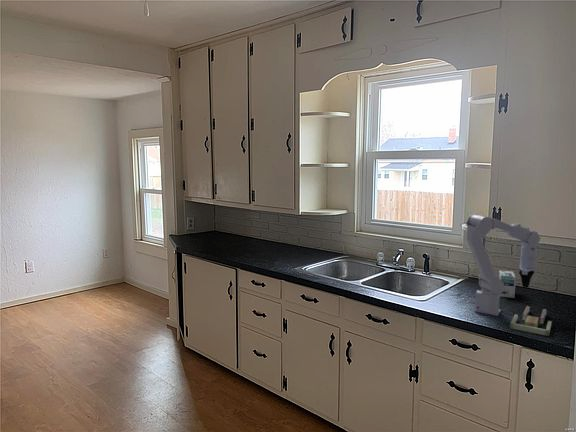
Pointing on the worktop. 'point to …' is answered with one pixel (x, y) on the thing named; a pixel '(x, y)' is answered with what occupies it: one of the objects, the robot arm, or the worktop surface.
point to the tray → (529, 328)
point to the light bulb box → (508, 283)
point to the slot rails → (540, 317)
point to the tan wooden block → (531, 323)
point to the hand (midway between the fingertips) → (525, 286)
